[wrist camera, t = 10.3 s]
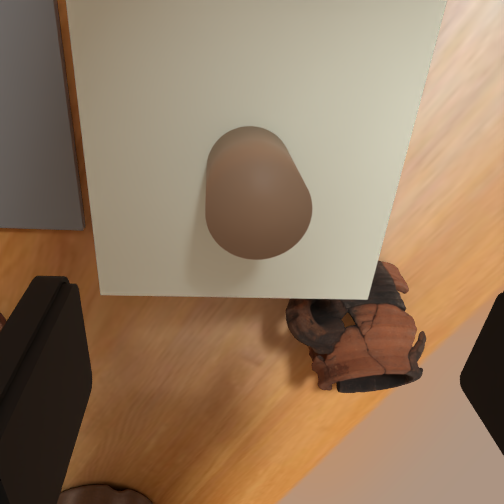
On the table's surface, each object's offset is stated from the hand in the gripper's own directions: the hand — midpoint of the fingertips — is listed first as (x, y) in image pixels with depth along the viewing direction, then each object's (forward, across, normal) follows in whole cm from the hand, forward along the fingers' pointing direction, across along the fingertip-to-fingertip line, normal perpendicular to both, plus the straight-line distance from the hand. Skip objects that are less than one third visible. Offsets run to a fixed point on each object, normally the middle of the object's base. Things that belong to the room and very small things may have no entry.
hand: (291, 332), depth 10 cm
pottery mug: (+19, -9, +14) cm, 25 cm away
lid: (+13, 0, +1) cm, 13 cm away
